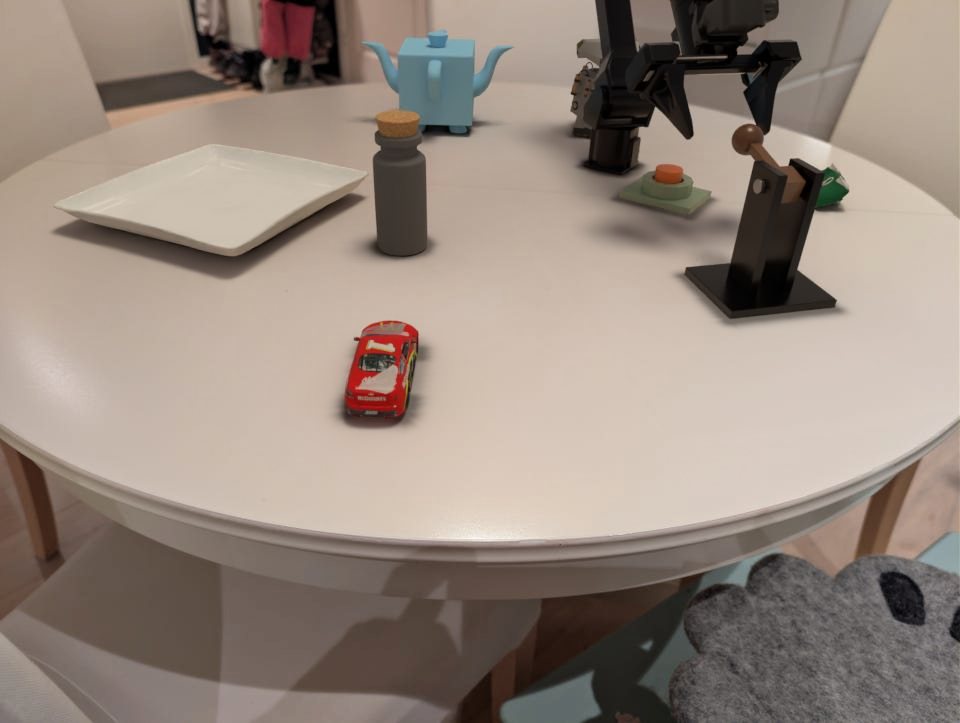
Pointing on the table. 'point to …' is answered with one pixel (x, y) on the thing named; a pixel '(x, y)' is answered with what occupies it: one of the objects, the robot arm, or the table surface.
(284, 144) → the table surface
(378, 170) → the bottle
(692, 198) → the button block
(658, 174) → the button
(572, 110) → the figurine
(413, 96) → the teakettle
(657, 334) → the table surface
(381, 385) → the race car
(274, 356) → the table surface
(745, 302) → the bracket
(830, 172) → the green carton
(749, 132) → the lever
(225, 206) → the square plate
